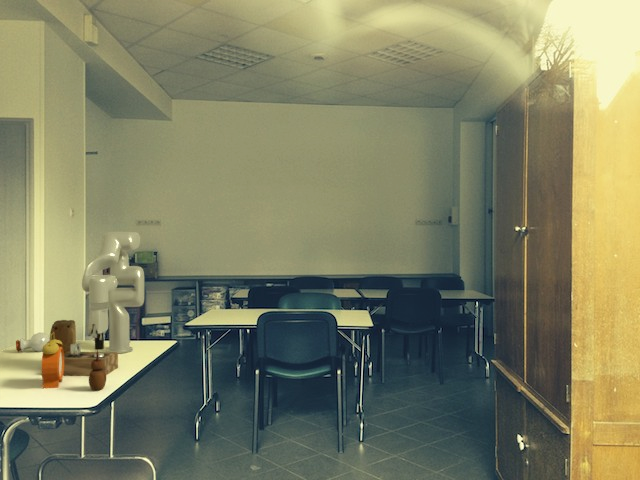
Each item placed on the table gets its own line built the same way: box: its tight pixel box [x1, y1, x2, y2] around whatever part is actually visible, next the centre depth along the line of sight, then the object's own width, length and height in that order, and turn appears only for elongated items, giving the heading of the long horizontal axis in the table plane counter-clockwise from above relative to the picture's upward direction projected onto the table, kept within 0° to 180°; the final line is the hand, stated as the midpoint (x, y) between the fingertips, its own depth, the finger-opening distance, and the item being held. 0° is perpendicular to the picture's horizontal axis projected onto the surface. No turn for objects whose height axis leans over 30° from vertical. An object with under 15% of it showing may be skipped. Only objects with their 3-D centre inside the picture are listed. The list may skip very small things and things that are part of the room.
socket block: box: [63, 351, 119, 377], centre depth 232 cm, size 14×22×7 cm, turn 89°
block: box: [49, 319, 77, 353], centre depth 243 cm, size 11×8×20 cm
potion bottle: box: [15, 332, 50, 353], centre depth 271 cm, size 9×10×15 cm
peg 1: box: [70, 342, 82, 357], centre depth 231 cm, size 4×4×7 cm
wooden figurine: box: [88, 349, 107, 391], centre depth 206 cm, size 7×6×15 cm
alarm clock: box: [41, 332, 64, 390], centre depth 212 cm, size 13×6×20 cm, turn 17°
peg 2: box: [94, 353, 104, 357], centre depth 231 cm, size 4×4×7 cm
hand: (99, 349), depth 232 cm, fingers closed
